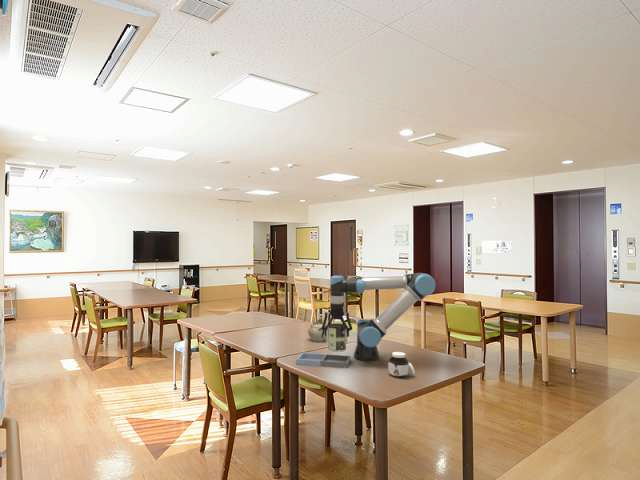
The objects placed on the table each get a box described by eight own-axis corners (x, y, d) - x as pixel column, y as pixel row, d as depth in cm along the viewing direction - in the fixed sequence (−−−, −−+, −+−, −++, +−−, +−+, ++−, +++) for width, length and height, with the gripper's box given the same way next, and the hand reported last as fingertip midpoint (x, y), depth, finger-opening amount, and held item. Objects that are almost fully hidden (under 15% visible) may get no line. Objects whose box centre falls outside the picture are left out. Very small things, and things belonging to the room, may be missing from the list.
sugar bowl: (333, 342, 287) (334, 321, 287) (313, 344, 281) (314, 322, 282) (322, 336, 305) (323, 316, 305) (303, 338, 300) (304, 317, 300)
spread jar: (386, 375, 217) (386, 352, 217) (398, 370, 224) (398, 349, 225) (405, 380, 208) (405, 357, 208) (417, 376, 216) (418, 353, 216)
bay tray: (350, 360, 243) (350, 355, 243) (347, 368, 228) (347, 363, 228) (302, 357, 248) (302, 352, 248) (296, 364, 234) (296, 359, 234)
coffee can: (347, 347, 241) (347, 323, 241) (344, 352, 231) (344, 326, 231) (329, 346, 243) (329, 322, 243) (326, 351, 233) (326, 326, 233)
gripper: (357, 302, 239) (357, 341, 238) (318, 301, 243) (318, 339, 243) (356, 304, 231) (355, 344, 231) (316, 303, 236) (316, 342, 235)
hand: (336, 342), depth 237 cm, fingers closed on coffee can, 10 cm apart
